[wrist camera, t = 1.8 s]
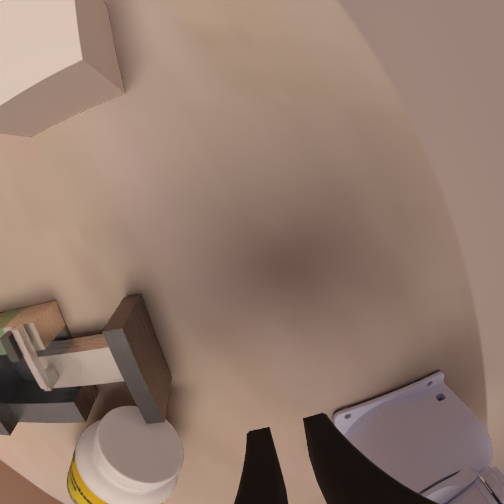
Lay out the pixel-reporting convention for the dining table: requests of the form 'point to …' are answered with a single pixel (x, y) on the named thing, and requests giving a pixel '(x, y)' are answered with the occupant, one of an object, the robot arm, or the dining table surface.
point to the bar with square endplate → (108, 359)
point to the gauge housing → (24, 383)
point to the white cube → (54, 62)
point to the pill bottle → (125, 460)
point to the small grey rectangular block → (11, 347)
